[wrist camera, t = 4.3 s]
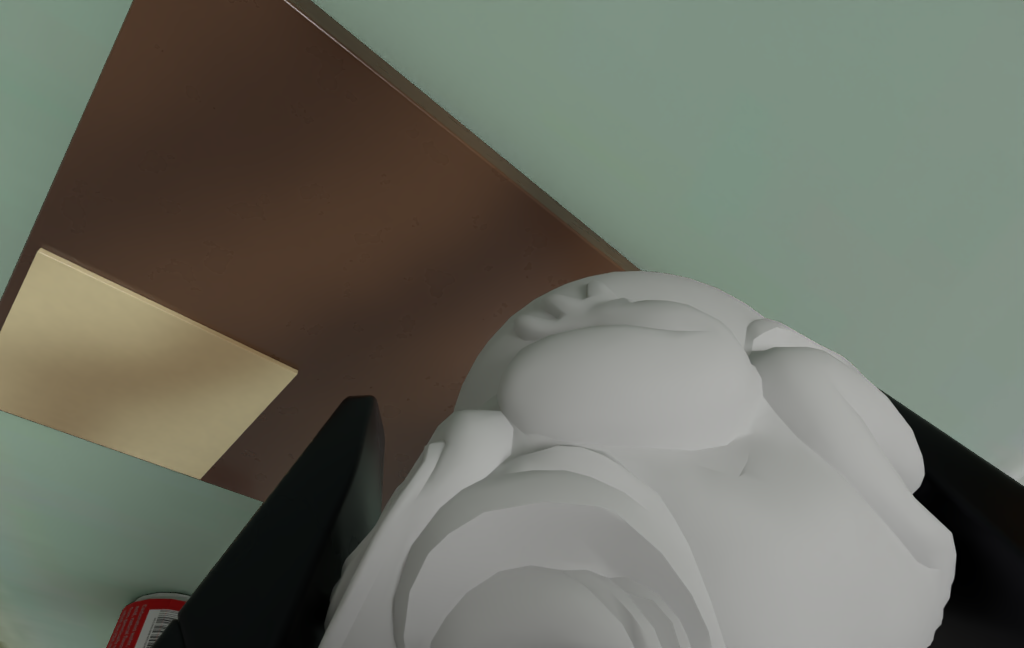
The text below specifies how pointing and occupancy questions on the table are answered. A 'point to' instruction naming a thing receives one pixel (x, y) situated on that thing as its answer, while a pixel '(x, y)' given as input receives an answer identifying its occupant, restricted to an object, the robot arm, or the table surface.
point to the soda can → (146, 620)
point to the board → (268, 249)
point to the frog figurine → (653, 492)
